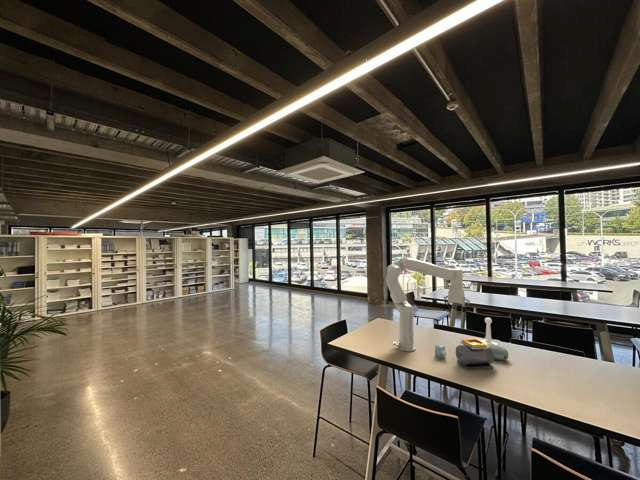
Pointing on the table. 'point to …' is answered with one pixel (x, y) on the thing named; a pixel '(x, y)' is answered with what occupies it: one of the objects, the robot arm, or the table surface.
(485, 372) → the table surface
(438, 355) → the pump
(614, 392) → the table surface
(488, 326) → the joystick
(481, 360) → the motor
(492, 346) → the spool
